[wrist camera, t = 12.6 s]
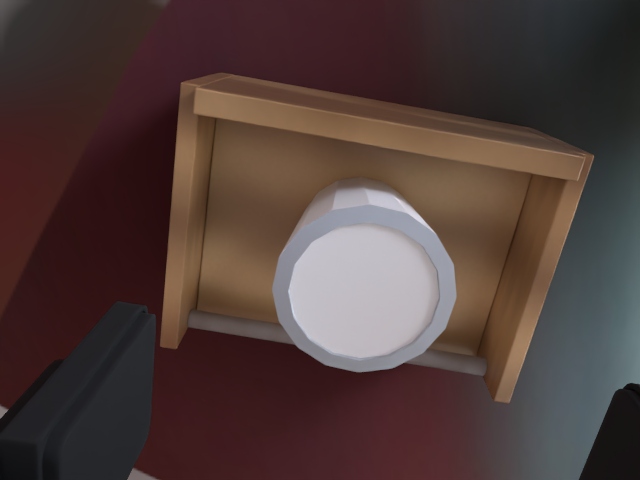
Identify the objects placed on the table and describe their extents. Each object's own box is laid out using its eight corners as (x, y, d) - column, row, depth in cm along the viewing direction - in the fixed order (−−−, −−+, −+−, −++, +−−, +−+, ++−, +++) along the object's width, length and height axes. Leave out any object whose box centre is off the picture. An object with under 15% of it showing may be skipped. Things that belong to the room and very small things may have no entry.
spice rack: (472, 327, 33) (515, 418, 25) (198, 280, 32) (152, 358, 24) (532, 127, 29) (607, 160, 21) (219, 72, 28) (173, 83, 20)
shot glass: (453, 199, 26) (493, 253, 19) (388, 316, 28) (404, 399, 22) (323, 139, 25) (317, 173, 19) (266, 264, 27) (243, 333, 21)
